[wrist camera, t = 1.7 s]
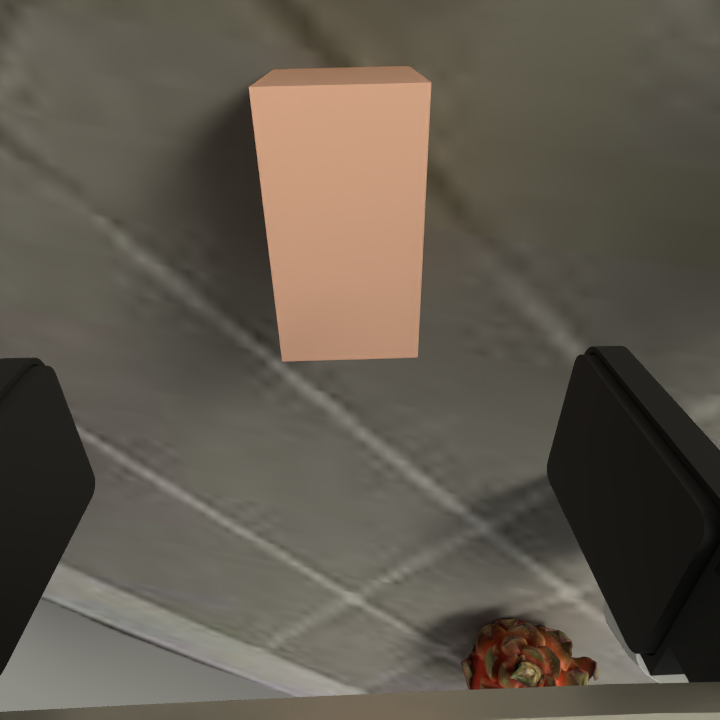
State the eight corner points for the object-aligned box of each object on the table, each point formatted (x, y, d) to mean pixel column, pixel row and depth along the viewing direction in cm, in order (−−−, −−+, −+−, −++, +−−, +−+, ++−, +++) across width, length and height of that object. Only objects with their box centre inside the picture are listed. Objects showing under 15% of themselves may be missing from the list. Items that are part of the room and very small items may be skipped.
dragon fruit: (478, 569, 39) (539, 617, 45) (412, 673, 37) (486, 707, 44) (582, 644, 32) (635, 688, 39) (508, 776, 30) (578, 797, 37)
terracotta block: (408, 65, 19) (431, 82, 14) (402, 287, 24) (417, 357, 19) (273, 68, 19) (248, 87, 14) (295, 290, 24) (282, 361, 19)
